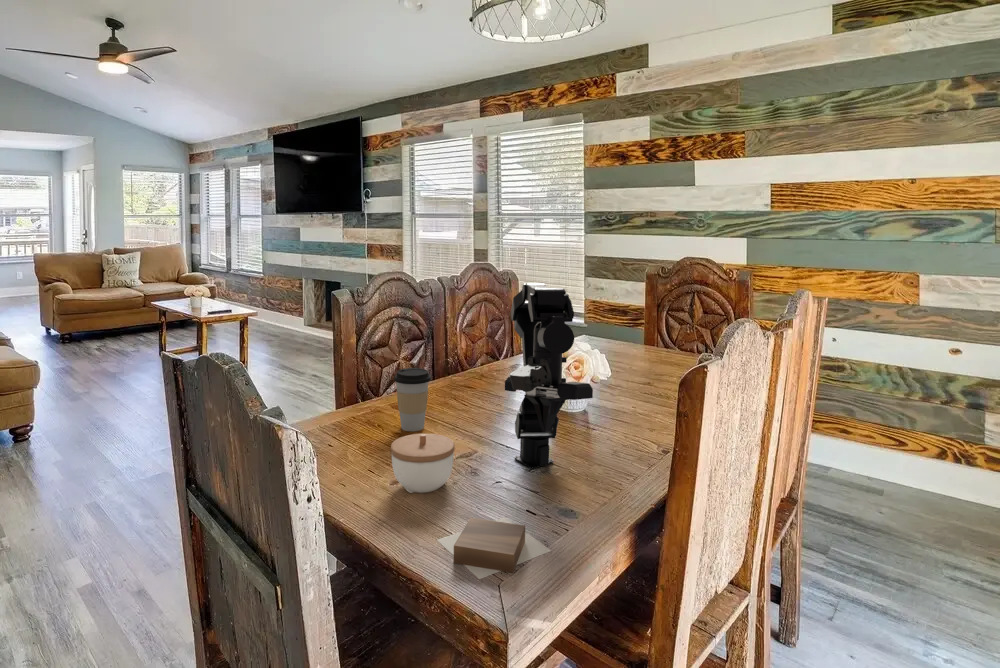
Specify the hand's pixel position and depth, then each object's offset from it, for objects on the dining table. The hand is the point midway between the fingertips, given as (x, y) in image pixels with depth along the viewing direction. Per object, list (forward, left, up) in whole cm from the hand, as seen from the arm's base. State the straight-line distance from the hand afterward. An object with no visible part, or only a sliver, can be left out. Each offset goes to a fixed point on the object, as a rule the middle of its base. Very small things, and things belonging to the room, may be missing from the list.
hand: (545, 431), depth 115 cm
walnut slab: (+10, -18, -11) cm, 24 cm away
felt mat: (+12, -20, -13) cm, 27 cm away
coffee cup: (-47, -5, -13) cm, 49 cm away
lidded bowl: (-15, -19, -13) cm, 28 cm away
